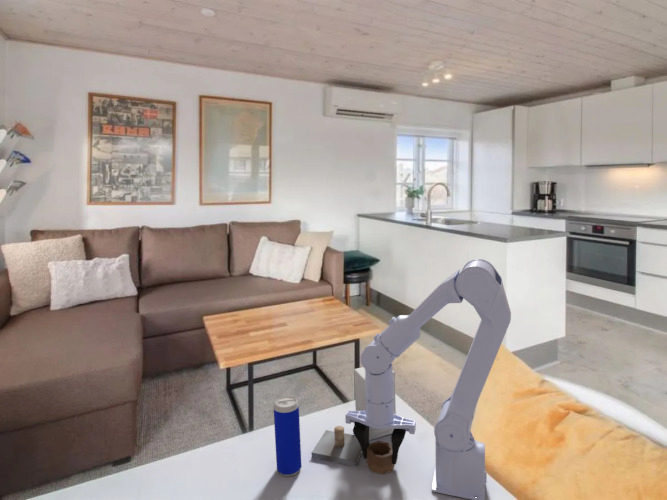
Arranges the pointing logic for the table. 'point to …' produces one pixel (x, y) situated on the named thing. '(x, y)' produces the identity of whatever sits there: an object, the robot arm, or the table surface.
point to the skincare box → (361, 401)
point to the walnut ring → (379, 457)
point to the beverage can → (287, 435)
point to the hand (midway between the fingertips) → (380, 458)
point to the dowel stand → (338, 447)
